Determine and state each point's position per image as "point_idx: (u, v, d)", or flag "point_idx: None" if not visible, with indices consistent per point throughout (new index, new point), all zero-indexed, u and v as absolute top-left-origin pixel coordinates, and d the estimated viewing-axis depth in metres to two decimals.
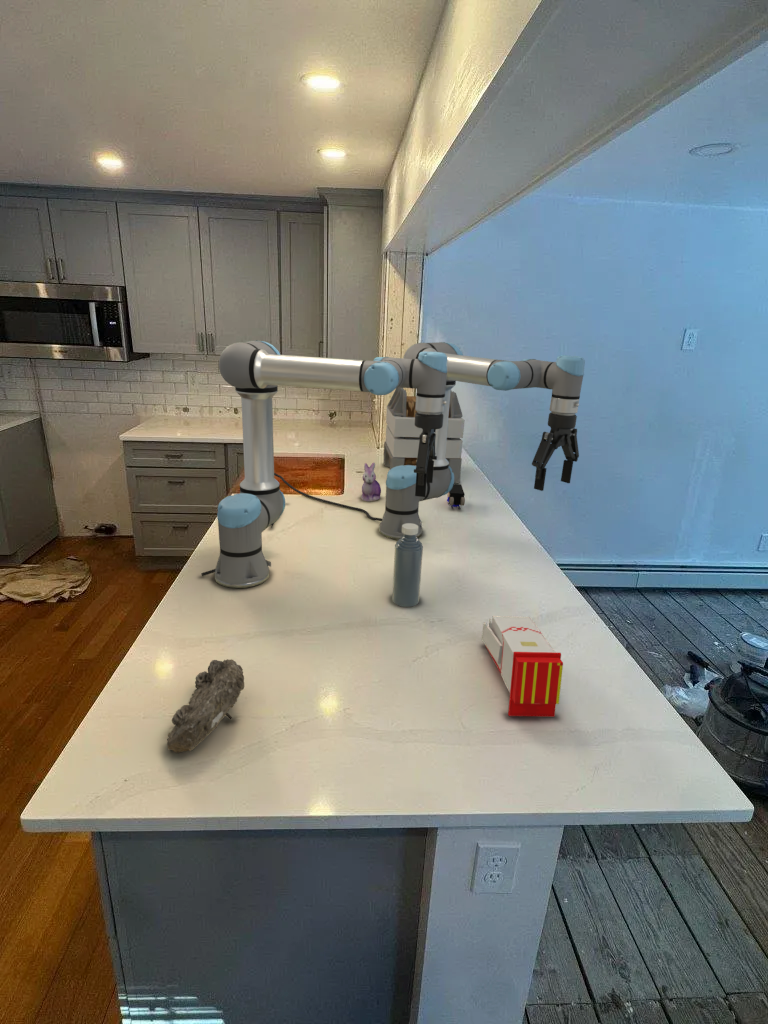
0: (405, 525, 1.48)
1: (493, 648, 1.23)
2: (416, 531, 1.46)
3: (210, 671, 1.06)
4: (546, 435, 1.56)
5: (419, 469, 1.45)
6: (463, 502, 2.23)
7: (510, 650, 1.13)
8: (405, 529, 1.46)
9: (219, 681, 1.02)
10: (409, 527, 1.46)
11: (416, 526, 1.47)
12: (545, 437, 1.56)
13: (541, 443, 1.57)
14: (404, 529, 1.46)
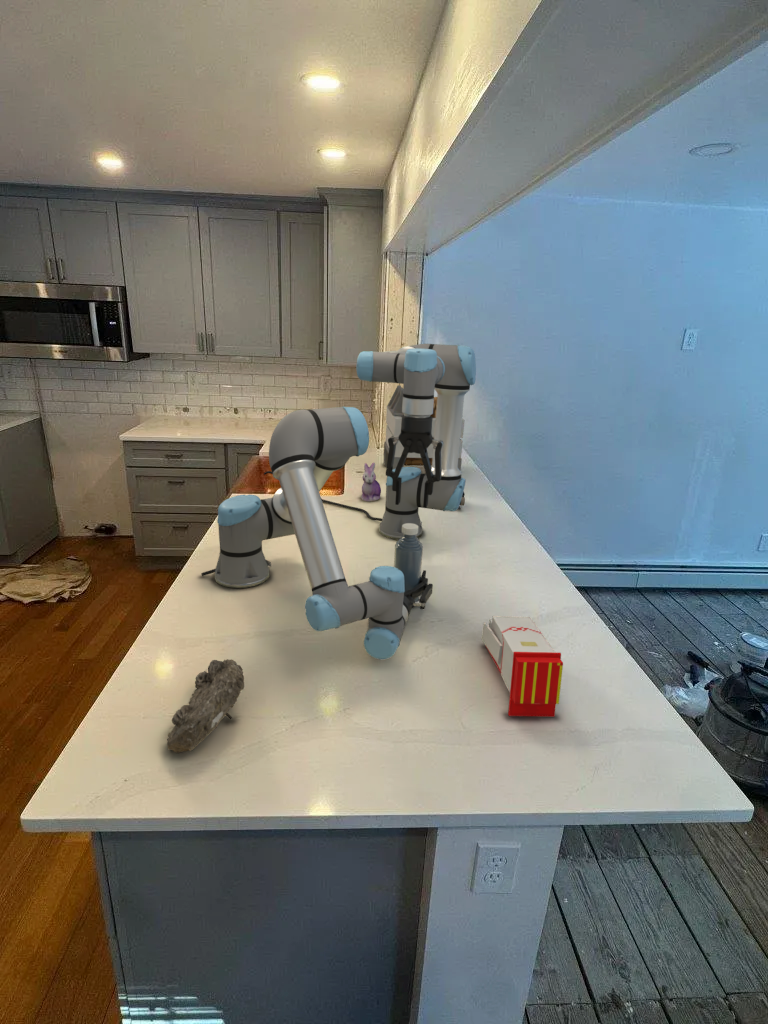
0: (405, 525, 1.48)
1: (493, 648, 1.23)
2: (416, 531, 1.46)
3: (210, 671, 1.06)
4: (442, 445, 1.39)
5: None
6: (463, 502, 2.23)
7: (510, 650, 1.13)
8: (405, 529, 1.46)
9: (219, 681, 1.02)
10: (409, 527, 1.46)
11: (416, 526, 1.47)
12: (441, 448, 1.39)
13: (440, 455, 1.39)
14: (404, 529, 1.46)
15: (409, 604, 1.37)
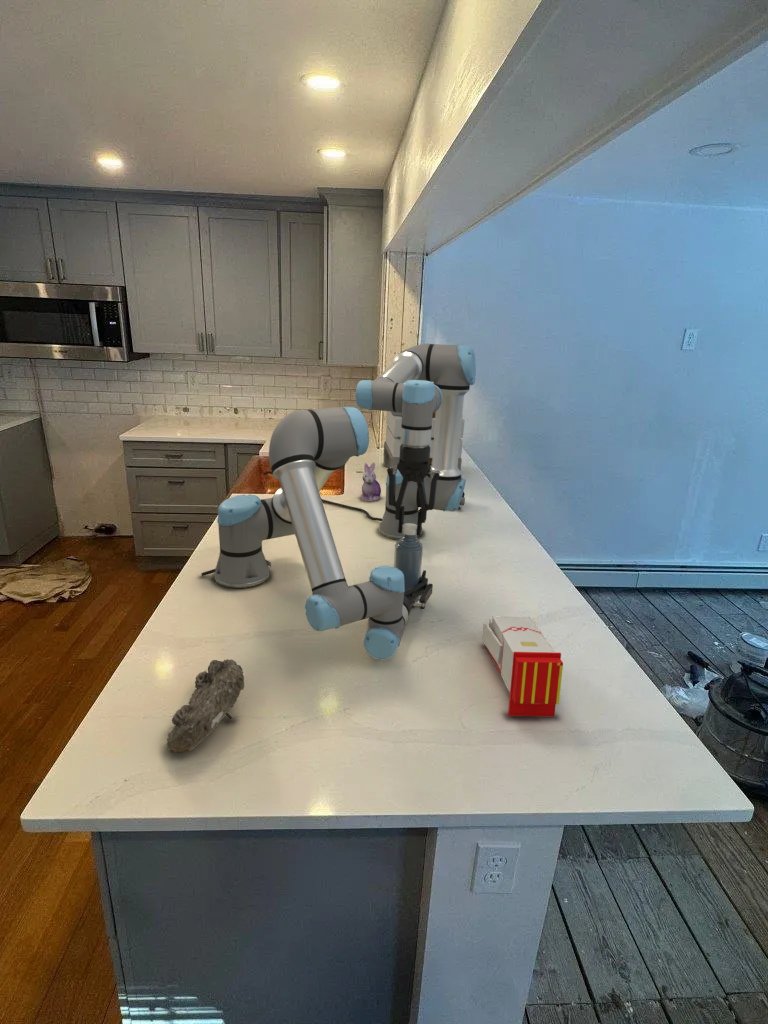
0: (405, 525, 1.48)
1: (493, 648, 1.23)
2: (416, 531, 1.46)
3: (210, 671, 1.06)
4: None
5: None
6: (463, 502, 2.23)
7: (510, 650, 1.13)
8: (405, 529, 1.46)
9: (219, 681, 1.02)
10: (409, 527, 1.46)
11: (416, 526, 1.47)
12: None
13: (435, 485, 1.41)
14: (404, 529, 1.46)
15: (409, 604, 1.37)
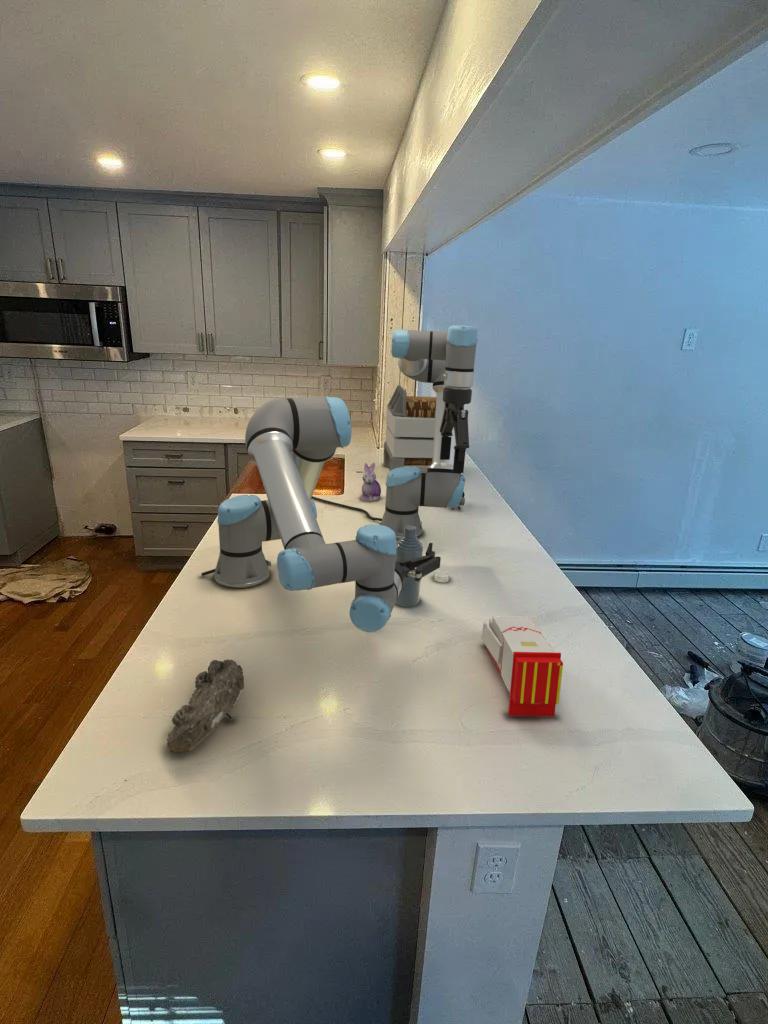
0: (446, 574, 1.67)
1: (493, 648, 1.23)
2: None
3: (210, 671, 1.06)
4: None
5: None
6: (463, 502, 2.23)
7: (510, 650, 1.13)
8: None
9: (219, 681, 1.02)
10: (441, 572, 1.68)
11: (436, 574, 1.67)
12: None
13: None
14: None
15: (403, 572, 1.21)
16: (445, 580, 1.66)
